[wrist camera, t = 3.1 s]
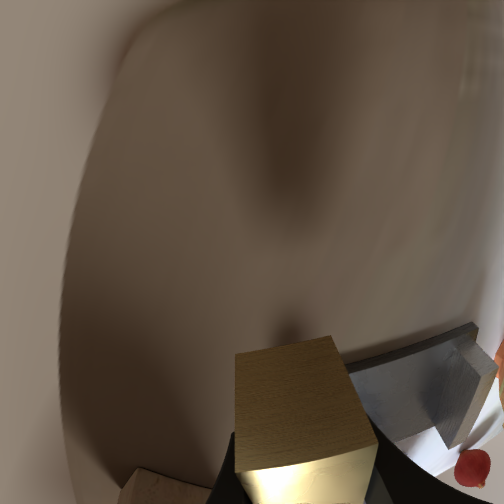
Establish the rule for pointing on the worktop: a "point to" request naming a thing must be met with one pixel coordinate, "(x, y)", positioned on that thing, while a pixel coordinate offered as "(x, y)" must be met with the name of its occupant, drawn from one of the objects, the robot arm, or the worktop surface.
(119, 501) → the wooden block
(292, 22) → the worktop surface
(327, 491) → the brass block
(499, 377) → the potted cactus
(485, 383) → the vise
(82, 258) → the worktop surface
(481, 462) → the pomegranate
